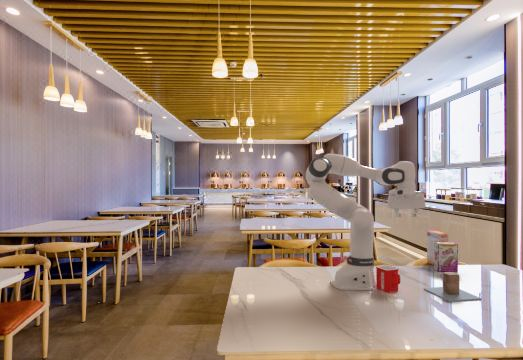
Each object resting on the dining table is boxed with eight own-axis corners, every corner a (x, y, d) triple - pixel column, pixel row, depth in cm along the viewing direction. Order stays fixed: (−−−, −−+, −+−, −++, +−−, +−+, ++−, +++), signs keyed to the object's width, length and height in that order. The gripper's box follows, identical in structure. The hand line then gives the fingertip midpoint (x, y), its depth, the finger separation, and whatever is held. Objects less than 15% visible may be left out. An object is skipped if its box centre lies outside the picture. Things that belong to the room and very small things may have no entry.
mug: (374, 287, 152) (374, 266, 152) (387, 285, 155) (387, 264, 155) (392, 296, 141) (392, 272, 141) (406, 293, 144) (406, 270, 144)
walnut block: (443, 291, 144) (442, 272, 144) (452, 291, 145) (452, 272, 145) (450, 295, 140) (449, 275, 140) (459, 294, 141) (459, 274, 141)
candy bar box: (438, 272, 178) (437, 243, 179) (434, 269, 183) (433, 241, 184) (458, 272, 177) (458, 243, 178) (454, 270, 182) (453, 242, 183)
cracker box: (448, 268, 186) (448, 233, 186) (438, 268, 186) (438, 233, 186) (436, 262, 200) (436, 230, 200) (426, 262, 200) (426, 230, 200)
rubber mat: (448, 301, 134) (448, 300, 134) (423, 289, 149) (423, 288, 149) (481, 299, 136) (481, 298, 136) (453, 287, 152) (453, 286, 152)
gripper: (420, 191, 171) (420, 216, 171) (385, 191, 167) (385, 216, 167) (427, 191, 164) (428, 217, 164) (392, 191, 161) (392, 218, 161)
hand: (406, 217), depth 166 cm, fingers open, 8 cm apart
